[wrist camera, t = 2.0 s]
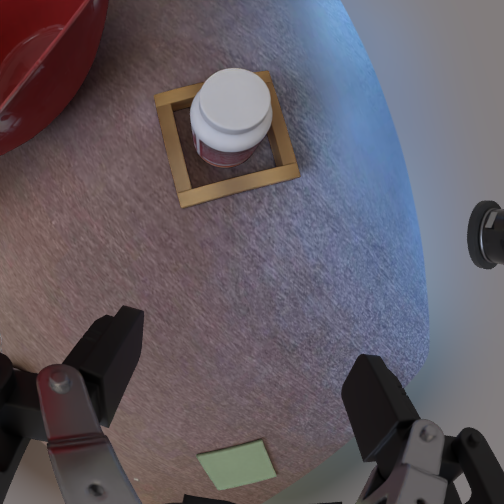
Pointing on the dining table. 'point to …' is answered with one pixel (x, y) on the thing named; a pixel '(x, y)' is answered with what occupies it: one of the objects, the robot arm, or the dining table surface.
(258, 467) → the mat
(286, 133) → the wooden rectangular frame
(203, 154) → the pill bottle
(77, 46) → the mixing bowl
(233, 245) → the dining table surface
